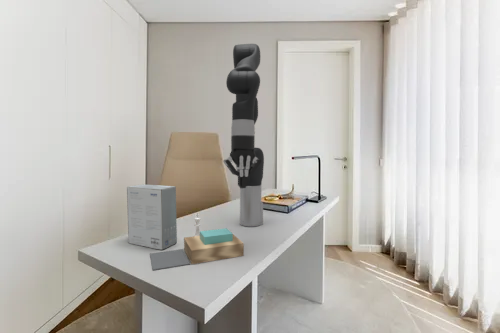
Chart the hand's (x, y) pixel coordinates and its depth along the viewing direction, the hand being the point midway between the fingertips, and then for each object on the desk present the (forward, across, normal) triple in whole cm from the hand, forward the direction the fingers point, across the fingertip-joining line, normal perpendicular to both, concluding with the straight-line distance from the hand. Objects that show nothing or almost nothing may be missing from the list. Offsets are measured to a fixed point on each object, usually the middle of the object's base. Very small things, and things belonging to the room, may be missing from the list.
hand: (242, 187), depth 89 cm
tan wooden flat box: (+20, +10, 0) cm, 22 cm away
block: (+16, +9, 0) cm, 18 cm away
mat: (+20, +23, 0) cm, 31 cm away
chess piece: (+20, +12, -13) cm, 27 cm away
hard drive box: (+20, +27, -16) cm, 37 cm away
